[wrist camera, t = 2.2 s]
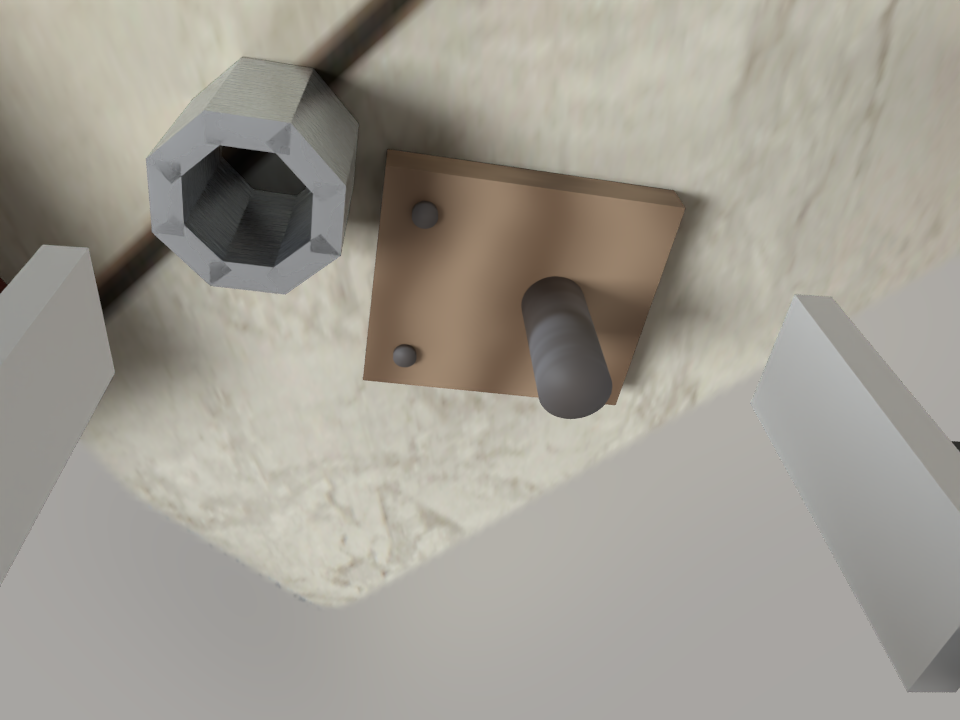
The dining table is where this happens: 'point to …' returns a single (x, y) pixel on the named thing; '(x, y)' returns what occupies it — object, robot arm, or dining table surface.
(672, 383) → the dining table surface
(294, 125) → the hub
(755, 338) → the dining table surface
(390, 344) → the shaft block
